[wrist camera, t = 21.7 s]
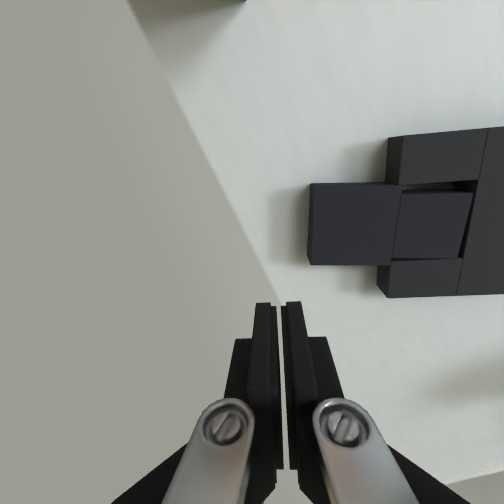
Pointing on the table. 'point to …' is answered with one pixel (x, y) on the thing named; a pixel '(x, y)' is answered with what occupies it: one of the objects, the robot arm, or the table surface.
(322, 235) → the pad
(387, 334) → the table surface
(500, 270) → the socket pad
